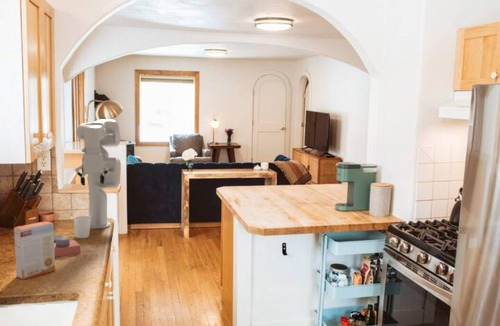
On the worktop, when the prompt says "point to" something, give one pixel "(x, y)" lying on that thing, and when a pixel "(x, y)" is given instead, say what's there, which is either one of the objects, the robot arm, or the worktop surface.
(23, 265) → the cracker box
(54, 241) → the gray rectangular box
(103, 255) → the worktop surface
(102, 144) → the robot arm
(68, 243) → the pink two-prong plug
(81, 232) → the white cup
